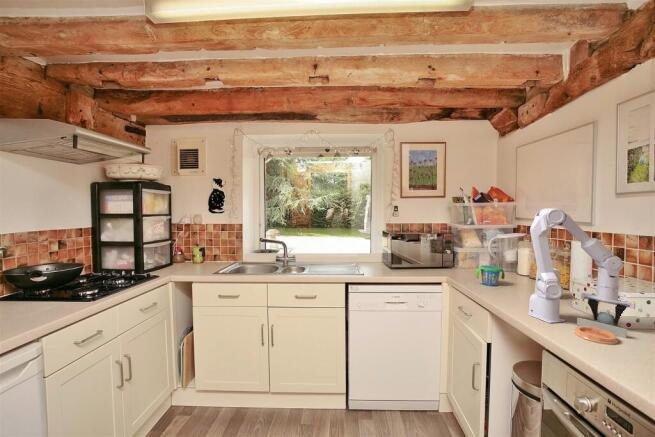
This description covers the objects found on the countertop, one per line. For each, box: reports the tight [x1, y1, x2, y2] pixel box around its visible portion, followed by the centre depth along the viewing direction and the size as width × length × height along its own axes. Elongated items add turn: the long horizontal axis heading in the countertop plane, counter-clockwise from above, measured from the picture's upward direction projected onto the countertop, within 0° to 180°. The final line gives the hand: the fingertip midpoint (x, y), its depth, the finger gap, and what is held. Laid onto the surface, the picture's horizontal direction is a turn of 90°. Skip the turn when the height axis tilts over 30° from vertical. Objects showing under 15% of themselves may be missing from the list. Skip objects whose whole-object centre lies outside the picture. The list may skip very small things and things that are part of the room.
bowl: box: [573, 326, 619, 345], centre depth 100 cm, size 11×11×2 cm
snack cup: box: [475, 264, 506, 287], centre depth 167 cm, size 16×10×10 cm
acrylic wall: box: [576, 317, 628, 339], centre depth 105 cm, size 13×1×3 cm, turn 37°
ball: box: [596, 311, 615, 326], centre depth 109 cm, size 5×5×5 cm
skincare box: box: [534, 267, 562, 293], centre depth 144 cm, size 8×6×15 cm
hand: (605, 322), depth 109 cm, fingers closed on ball, 5 cm apart
